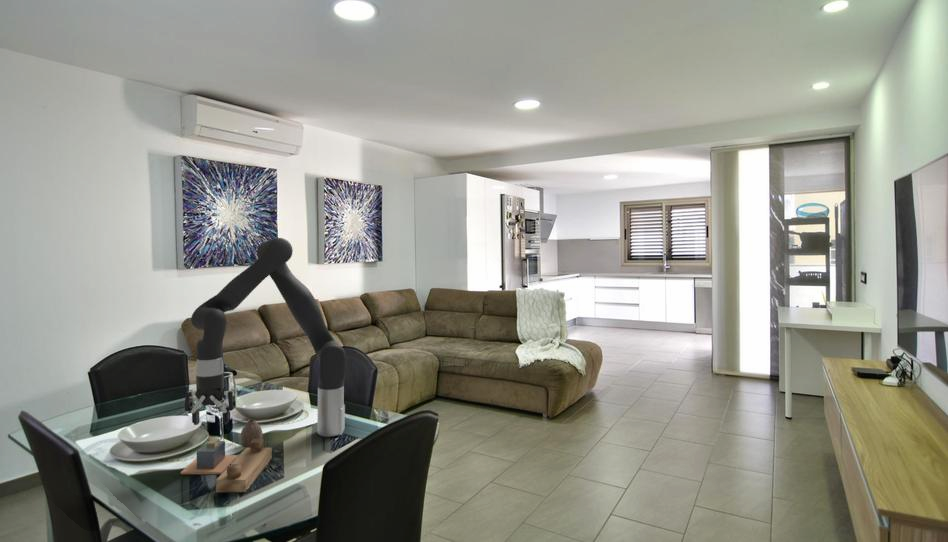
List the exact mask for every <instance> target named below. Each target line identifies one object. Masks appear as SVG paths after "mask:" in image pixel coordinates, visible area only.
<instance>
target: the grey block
mask: <svg viewBox="0 0 948 542" xmlns="http://www.w3.org/2000/svg"><path fill="white" fill-rule="evenodd" d="M225 455H226V441H225V440H221V438H211V439H210V440H208V441H207V442H205V444H203V445H202V446H200V448H199V449H198V450H196V458H197V469H214V468H215V467H216V466H217V465H218V464H219V463H220V462H221V461H222V460H223V459H224V458H225Z"/></svg>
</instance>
